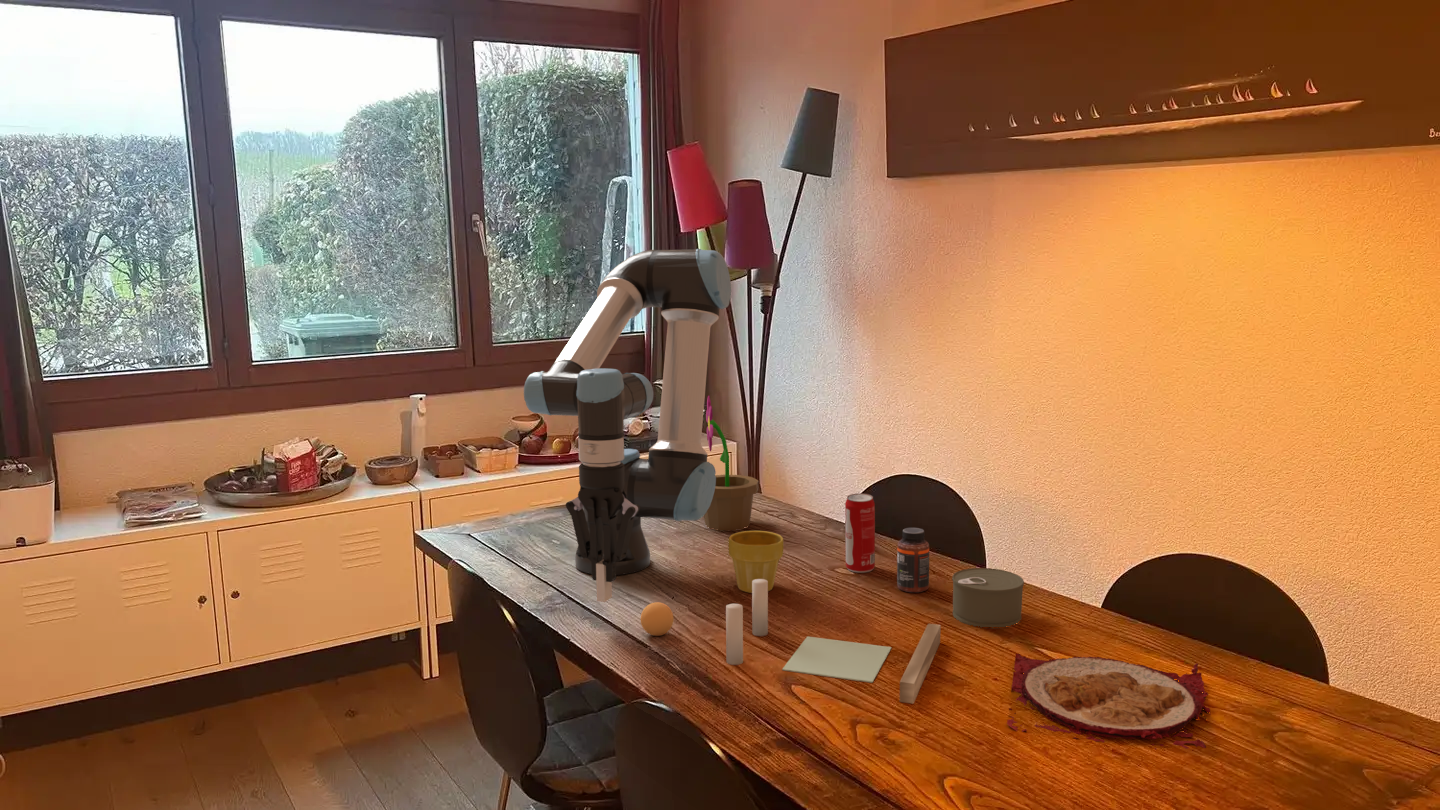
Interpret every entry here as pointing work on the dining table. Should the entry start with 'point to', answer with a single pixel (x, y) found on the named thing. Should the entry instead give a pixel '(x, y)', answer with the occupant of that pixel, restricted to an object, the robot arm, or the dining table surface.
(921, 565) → the supplement bottle
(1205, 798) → the dining table surface
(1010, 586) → the can
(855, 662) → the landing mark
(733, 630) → the post
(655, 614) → the ball
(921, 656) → the wall
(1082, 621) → the dining table surface
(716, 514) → the flowerpot
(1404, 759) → the dining table surface
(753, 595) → the post
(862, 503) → the beverage can
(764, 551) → the plant pot
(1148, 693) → the plate with food
